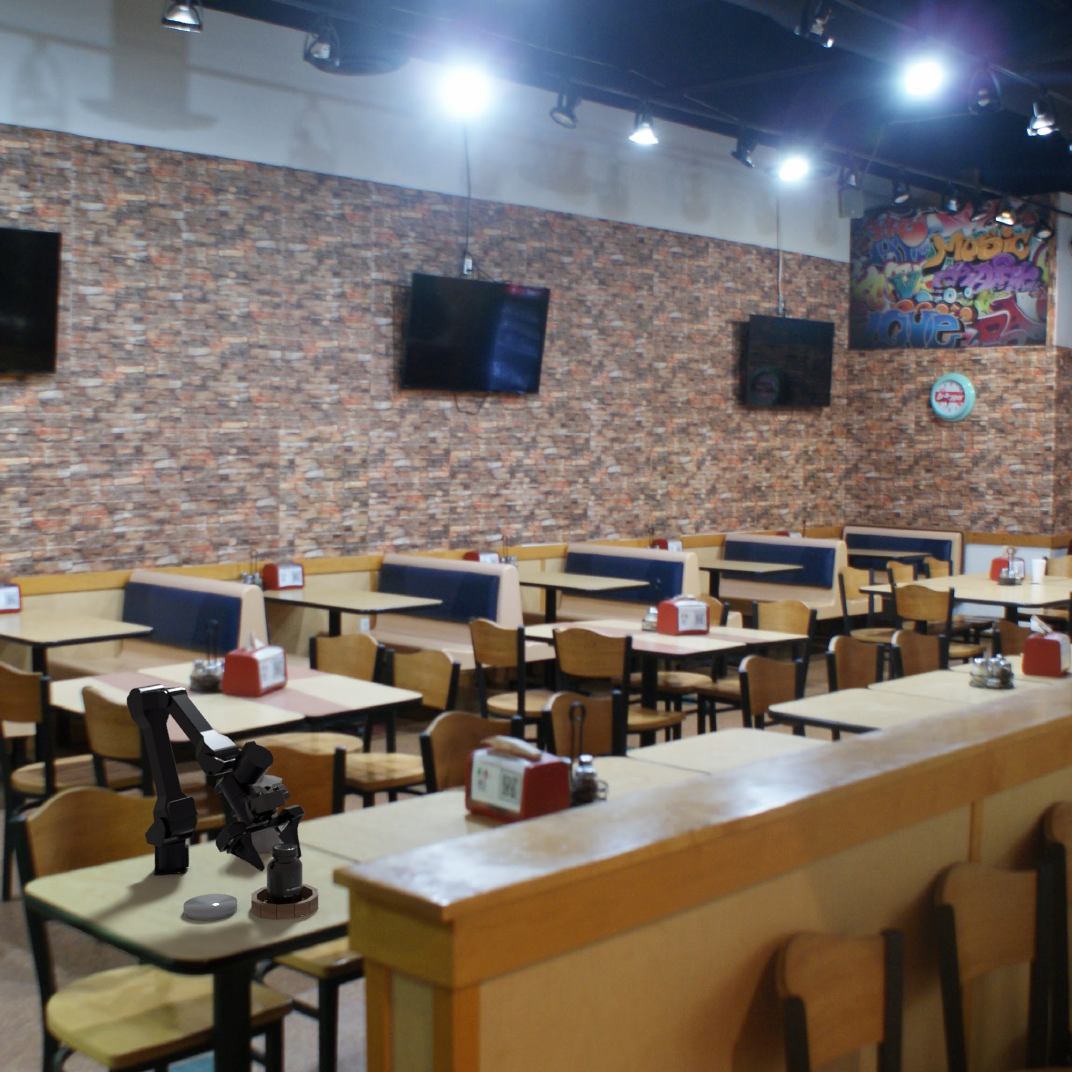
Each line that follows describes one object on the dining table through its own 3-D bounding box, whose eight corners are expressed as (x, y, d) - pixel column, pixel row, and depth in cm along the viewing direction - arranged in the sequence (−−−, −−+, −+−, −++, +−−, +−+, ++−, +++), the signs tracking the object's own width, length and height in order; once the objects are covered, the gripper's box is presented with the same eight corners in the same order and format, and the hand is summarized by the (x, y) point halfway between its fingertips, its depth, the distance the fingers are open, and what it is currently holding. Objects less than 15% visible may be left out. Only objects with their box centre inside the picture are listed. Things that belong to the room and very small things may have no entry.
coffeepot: (290, 852, 275) (289, 772, 274) (247, 858, 271) (246, 776, 270) (273, 833, 289) (273, 756, 287) (232, 838, 285) (231, 760, 283)
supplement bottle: (294, 914, 238) (293, 853, 237) (261, 912, 239) (260, 850, 239) (308, 902, 245) (307, 842, 244) (275, 899, 246) (274, 839, 245)
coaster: (182, 922, 234) (181, 914, 234) (184, 903, 244) (184, 895, 244) (236, 918, 236) (236, 910, 236) (237, 899, 246) (237, 892, 246)
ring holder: (251, 921, 235) (251, 908, 234) (251, 898, 247) (251, 885, 247) (319, 916, 237) (319, 903, 237) (316, 893, 250) (316, 881, 249)
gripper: (223, 784, 237) (263, 852, 231) (298, 764, 252) (337, 828, 246) (198, 817, 242) (236, 885, 236) (272, 796, 257) (310, 860, 251)
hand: (281, 863), depth 242 cm, fingers open, 9 cm apart
